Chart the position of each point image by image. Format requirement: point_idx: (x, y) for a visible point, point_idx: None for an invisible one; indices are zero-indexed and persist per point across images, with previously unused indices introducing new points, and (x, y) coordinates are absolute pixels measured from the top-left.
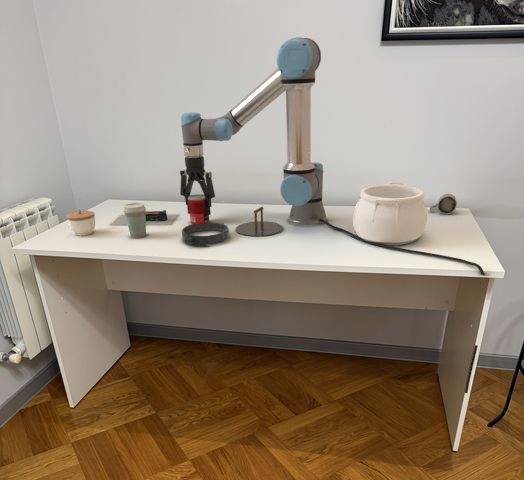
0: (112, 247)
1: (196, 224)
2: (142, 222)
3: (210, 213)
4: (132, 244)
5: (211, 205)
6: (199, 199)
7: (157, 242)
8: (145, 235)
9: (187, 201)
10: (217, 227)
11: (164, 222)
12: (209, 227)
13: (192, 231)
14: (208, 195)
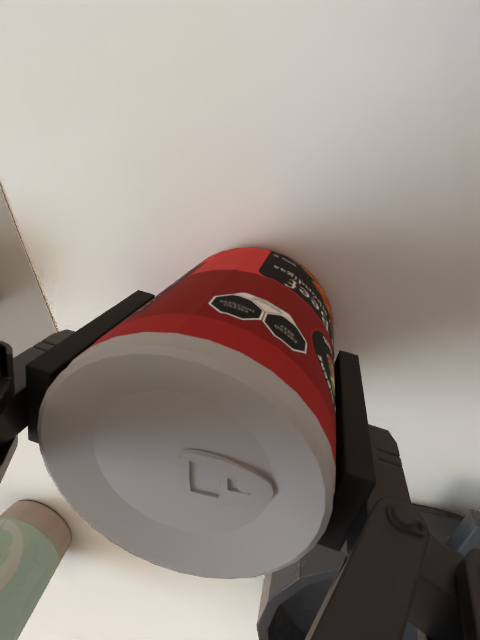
0: (41, 618)
1: (313, 580)
2: (25, 624)
3: (357, 362)
4: (86, 604)
5: (396, 445)
6: (251, 567)
7: (168, 600)
8: (68, 534)
9: None
10: None
11: (10, 322)
12: None
13: None
14: (374, 549)
